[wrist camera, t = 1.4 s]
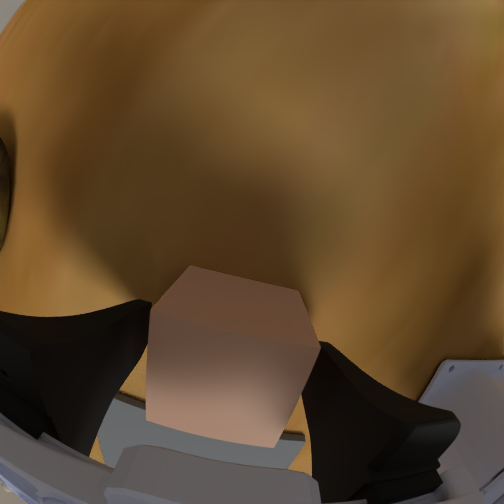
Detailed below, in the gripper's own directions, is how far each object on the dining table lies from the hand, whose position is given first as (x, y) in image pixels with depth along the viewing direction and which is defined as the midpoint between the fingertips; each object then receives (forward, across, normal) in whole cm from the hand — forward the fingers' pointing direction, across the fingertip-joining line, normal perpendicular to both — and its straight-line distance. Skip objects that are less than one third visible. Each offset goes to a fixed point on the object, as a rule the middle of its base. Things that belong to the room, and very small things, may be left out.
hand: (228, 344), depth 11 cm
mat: (+2, +1, +14) cm, 14 cm away
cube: (+2, 0, 0) cm, 2 cm away
